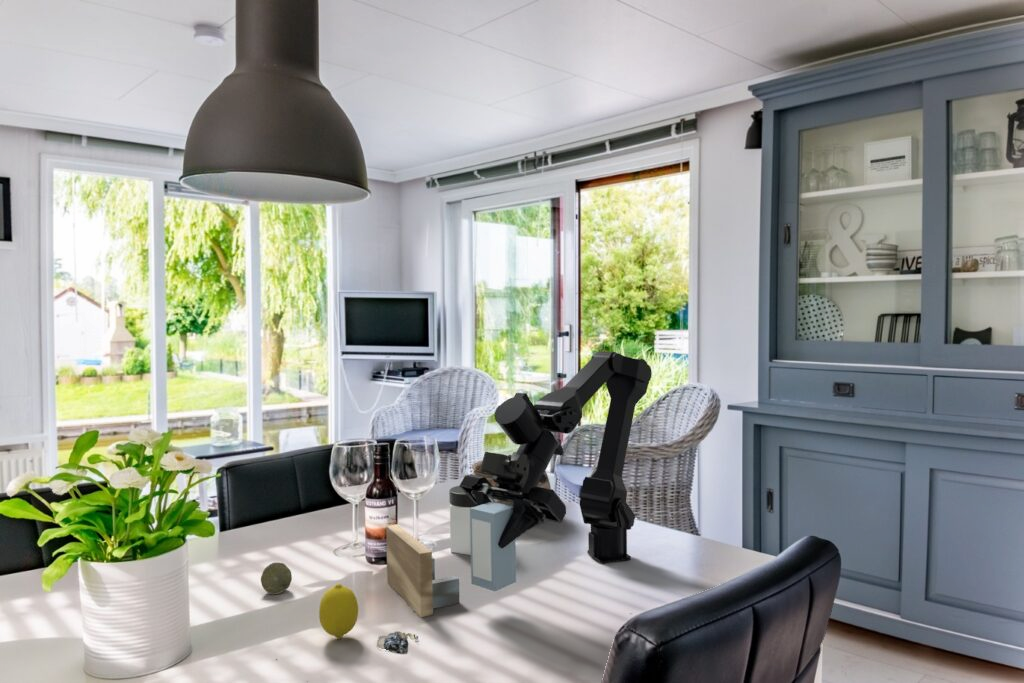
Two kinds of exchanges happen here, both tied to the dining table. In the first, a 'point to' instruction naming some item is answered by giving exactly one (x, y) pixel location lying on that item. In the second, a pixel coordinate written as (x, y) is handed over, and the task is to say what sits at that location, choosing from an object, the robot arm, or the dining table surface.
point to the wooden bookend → (417, 573)
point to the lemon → (338, 611)
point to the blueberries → (395, 642)
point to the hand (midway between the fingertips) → (487, 543)
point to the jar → (460, 521)
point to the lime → (276, 578)
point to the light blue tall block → (491, 547)
